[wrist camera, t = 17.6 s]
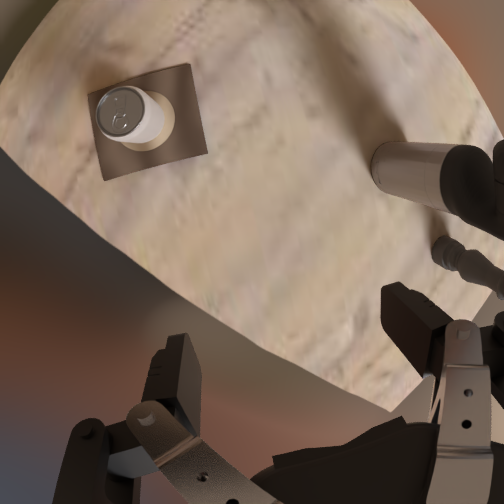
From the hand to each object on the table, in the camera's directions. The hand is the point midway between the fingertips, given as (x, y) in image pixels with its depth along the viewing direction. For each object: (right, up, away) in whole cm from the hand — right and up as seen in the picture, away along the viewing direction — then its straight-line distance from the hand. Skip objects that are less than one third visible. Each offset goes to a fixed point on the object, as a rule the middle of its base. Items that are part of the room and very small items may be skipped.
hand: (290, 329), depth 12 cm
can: (-17, +21, +27) cm, 38 cm away
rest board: (-17, +22, +28) cm, 39 cm away
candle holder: (+38, +3, +42) cm, 57 cm away
